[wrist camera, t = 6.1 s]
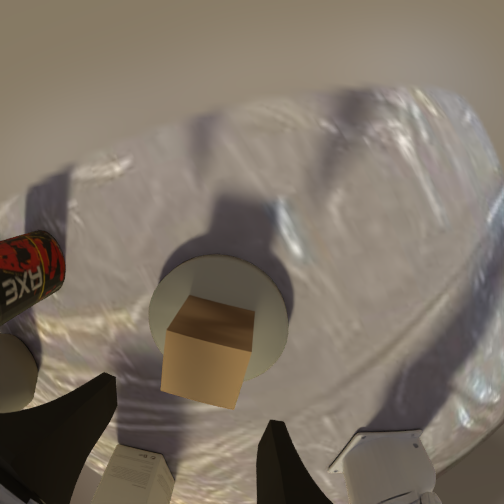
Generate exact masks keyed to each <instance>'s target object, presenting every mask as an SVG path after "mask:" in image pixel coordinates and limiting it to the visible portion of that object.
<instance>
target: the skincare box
mask: <svg viewBox="0 0 504 504" xmlns="http://www.w3.org/2000/svg"><path fill="white" fill-rule="evenodd" d="M174 484H175V481H174V479H173V477H172V475H171V473H170V471H169V469H168V466H167V464H166V462H165V460H164V458H163V455H161V454H158V453H153V452H149V451H144V450H140V449H136V448H132V447H128V446H124V445H119V444H118V445H117V446H116V448H115V450H114V453H113V455H112V457H111V459H110V461H109V463H108V465H107V467H106V470H105V472H104V474H103V476H102V479H101V481H100V483H99V485H98V488H97V490H96V492H95V494H94V497H93V499H92V501H91V504H170V500H171V496H172V492H173V488H174Z"/></svg>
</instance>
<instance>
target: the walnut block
mask: <svg viewBox="0 0 504 504" xmlns="http://www.w3.org/2000/svg"><path fill="white" fill-rule="evenodd" d="M254 318H255V311H251V310H247V309H243V308H239V307H235V306H231V305H227V304H223V303H219V302H215V301H211V300H207V299H203V298H200V297H196V296H192V295H189V296H188V298H187V299H186V301H185V302H184V304H183V305H182V307H181V308H180V310H179V311H178V313H177V314H176V316H175V317H174V319H173V321H172V322H171V324H170V325H169V327H168V328H167V330H166V337H165V346H164V356H163V367H162V378H161V391H164V392H167V393H170V394H173V395H177V396H180V397H184V398H187V399H191V400H194V401H198V402H202V403H206V404H210V405H214V406H218V407H223V408H227V409H232V410H234V408H235V405H236V402H237V399H238V395H239V392H240V389H241V386H242V383H243V379H244V376H245V373H246V370H247V366H248V363H249V360H250V357H251V353H252V343H253V331H254Z"/></svg>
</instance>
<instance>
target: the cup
mask: <svg viewBox="0 0 504 504" xmlns="http://www.w3.org/2000/svg"><path fill="white" fill-rule="evenodd" d="M37 377H38V370H37V366H36V363H35V360H34V358H33V356H32V354H31V353H30V351H29V350H28V348H27V347H26V346H25V345H24V344H23V342H22V341H21V340H19V339H18V338H17V337H16V336H13V335H11V334H1V333H0V413H8V412H15V411H20V410H21V409H23V408H24V407H25V406H27V405H28V404H29V403H30V402H31V401H32V399H33V397H34V393H35V388H36V383H37Z"/></svg>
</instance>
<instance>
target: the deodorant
mask: <svg viewBox="0 0 504 504" xmlns="http://www.w3.org/2000/svg"><path fill="white" fill-rule="evenodd" d="M64 279H65V262H64V258H63V254H62V251H61V249H60V247H59V245H58V243H57V242H56V240H55V239H54V238H53V237H52V236H51V235H50V234H49V233H47V232H45V231H41V230H38V231H34V232H30V233H27V234H23V235H20V236H16V237H13V238H10V239H6V240H3V241H0V326H1V325H3V324H4V323H6V322H7V321H9V320H11V319H12V318H14V317H15V316H17V315H18V314H20V313H22V312H23V311H25V310H26V309H28V308H30V307H31V306H33V305H35V304H36V303H38V302H40V301H41V300H43V299H45V298H46V297H48V296H50V295H51V294H53V293H55V292H56V291H58V290H59V289H60V288H61V286H62V285H63V282H64Z"/></svg>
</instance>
